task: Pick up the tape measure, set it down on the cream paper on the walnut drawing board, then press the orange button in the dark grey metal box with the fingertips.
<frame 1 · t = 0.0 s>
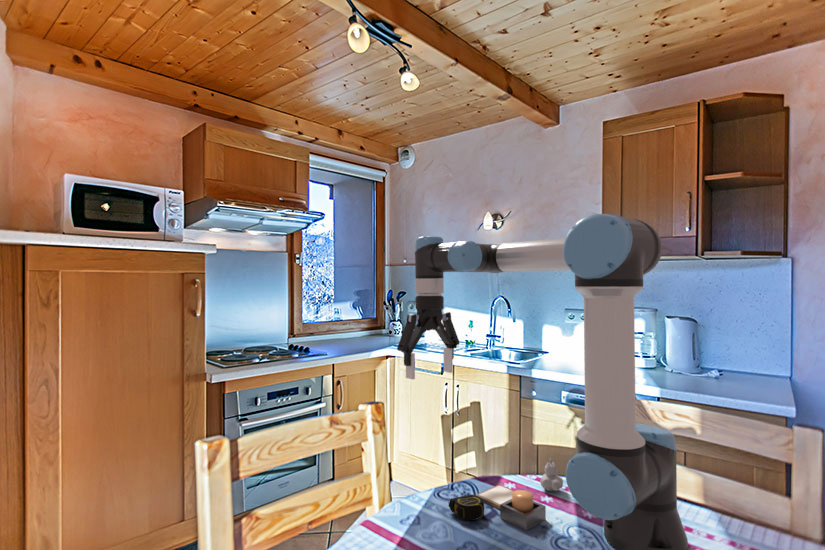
hand: (429, 375, 122), 28 cm above the table, fingers open, 13 cm apart
tape measure: (466, 516, 104), on the table
done button: (522, 501, 102), point 4 cm above the table, slide at 0.0 cm
drawing board: (501, 499, 112), on the table
button box: (522, 518, 102), on the table
bunny figurine: (552, 492, 116), on the table
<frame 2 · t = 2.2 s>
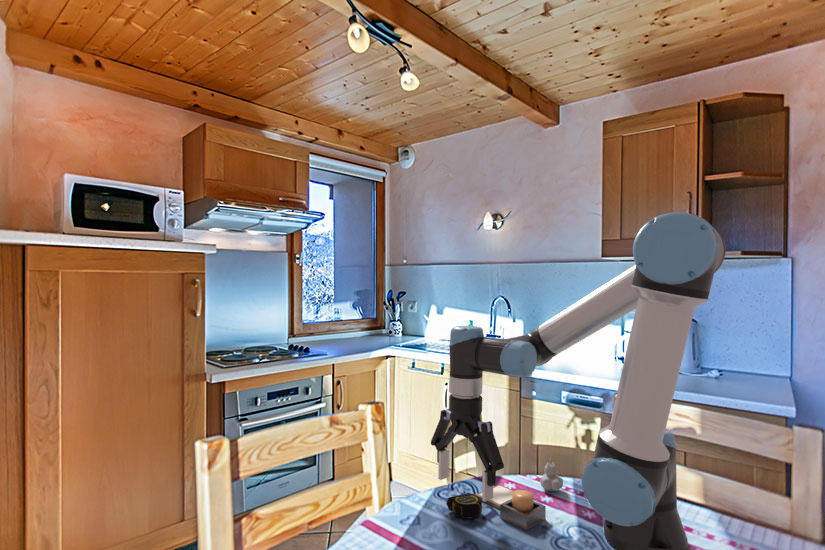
hand: (464, 488, 105), 6 cm above the table, fingers open, 13 cm apart
nothing on the table moved.
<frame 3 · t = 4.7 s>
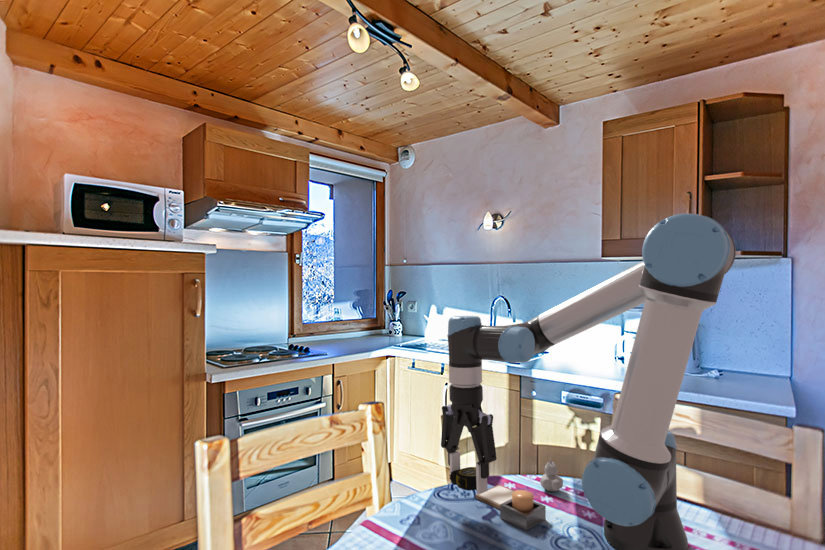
hand: (468, 486, 104), 7 cm above the table, fingers closed on tape measure, 7 cm apart
tape measure: (467, 487, 105), point 6 cm above the table, touching gripper
everything else where it was.
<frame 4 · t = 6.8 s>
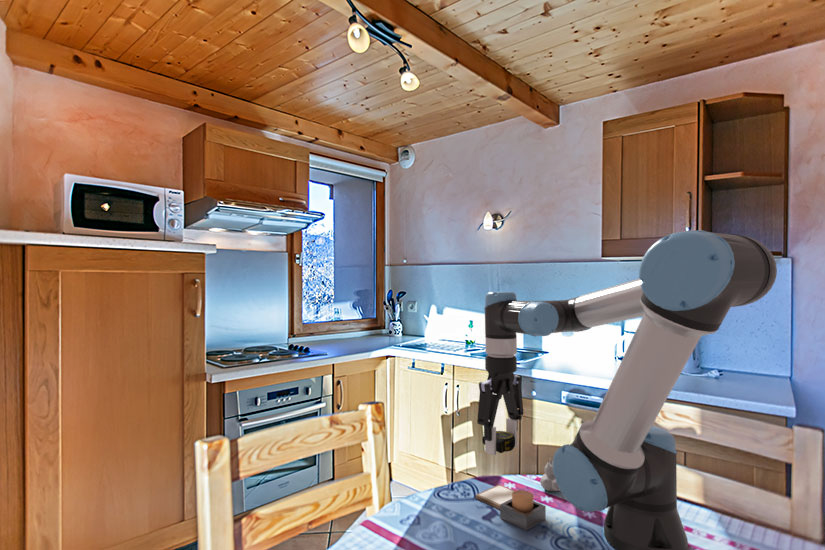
hand: (501, 449, 112), 12 cm above the table, fingers closed on tape measure, 7 cm apart
tape measure: (499, 451, 112), point 11 cm above the table, touching gripper
everything else where it was.
when the fingers open (2 cm above the table, at t = 9.3 s): tape measure stays where it is, resting on drawing board.
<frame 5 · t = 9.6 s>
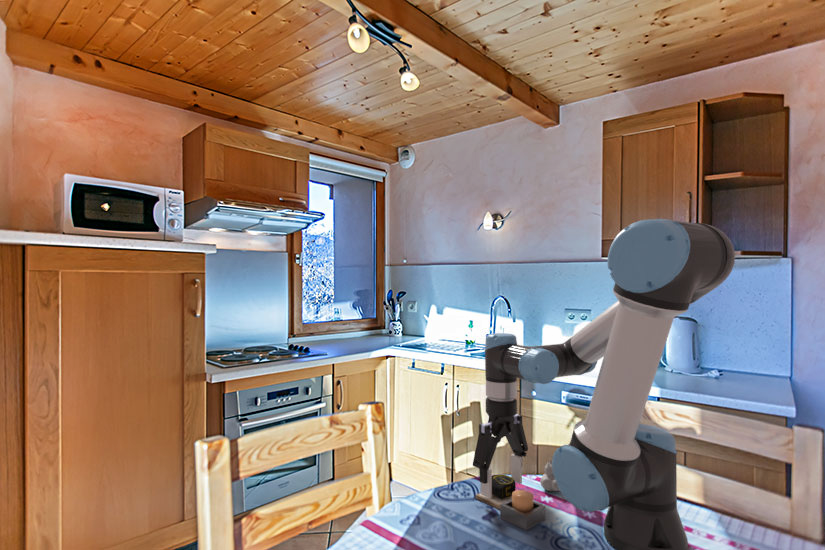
hand: (501, 488, 112), 2 cm above the table, fingers open, 11 cm apart
tape measure: (499, 496, 112), point 1 cm above the table, touching drawing board
everything else where it was.
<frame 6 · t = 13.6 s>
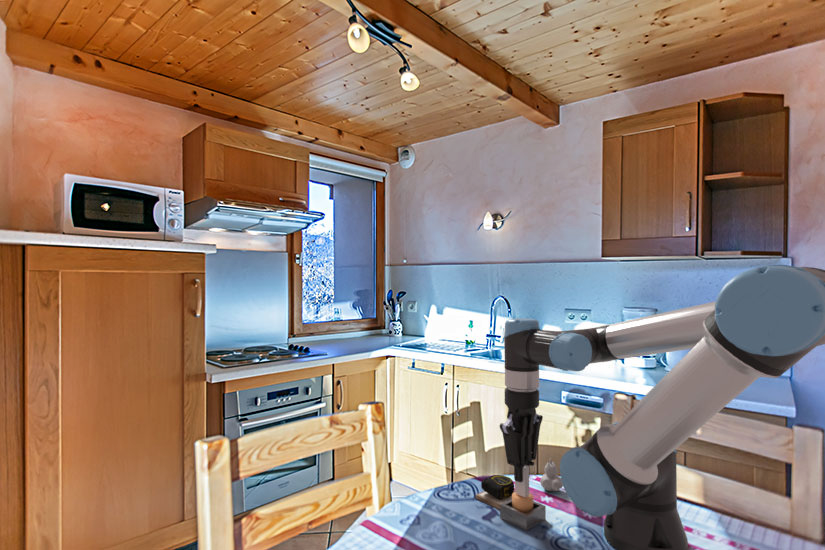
hand: (522, 494, 103), 5 cm above the table, fingers closed
done button: (522, 502, 102), point 4 cm above the table, slide at 0.3 cm, touching gripper
everything else where it was.
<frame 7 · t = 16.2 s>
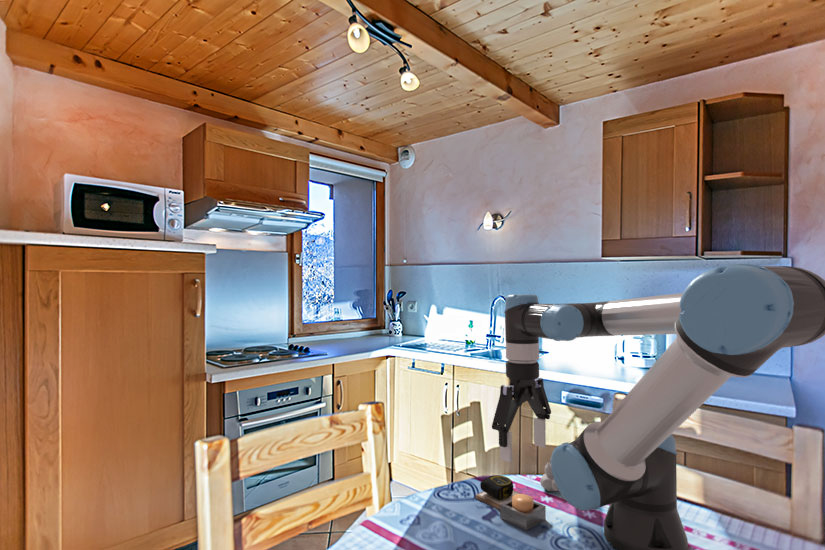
hand: (523, 453, 106), 13 cm above the table, fingers open, 13 cm apart
done button: (522, 505, 102), point 3 cm above the table, slide at 0.9 cm
everything else where it was.
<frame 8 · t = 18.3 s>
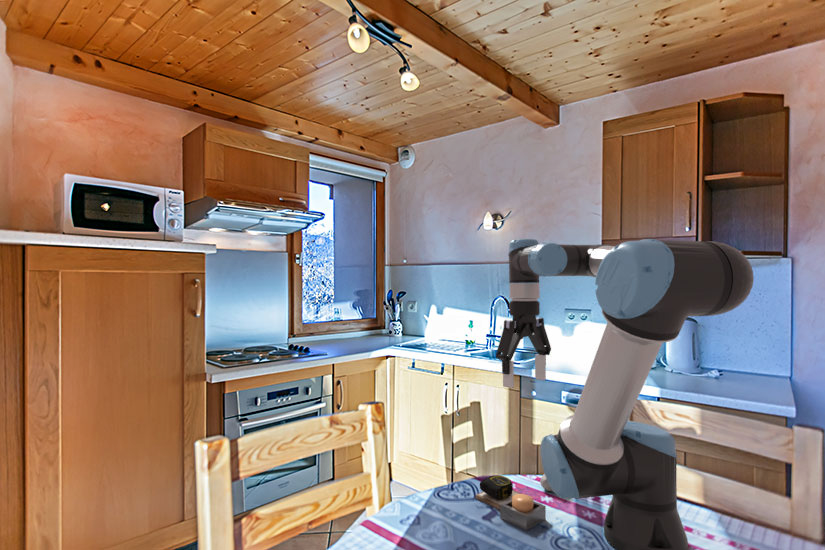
hand: (525, 383, 118), 27 cm above the table, fingers open, 13 cm apart
at the end: tape measure inside the target area on the drawing board (1.6 cm from its centre), point 0.7 cm above the drawing board's base; the gripper is holding nothing; done button slide at 0.9 cm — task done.
